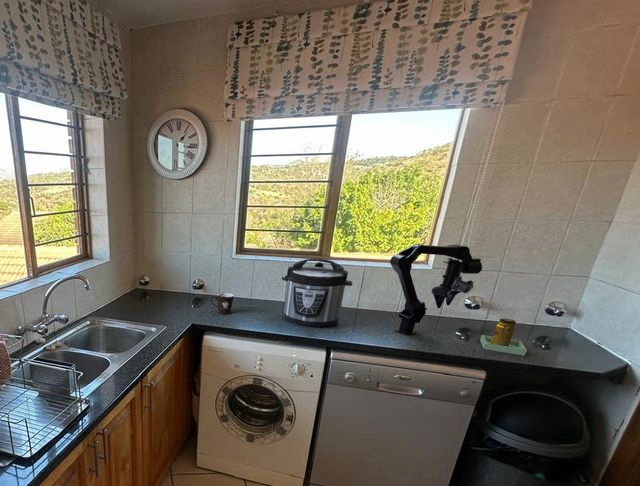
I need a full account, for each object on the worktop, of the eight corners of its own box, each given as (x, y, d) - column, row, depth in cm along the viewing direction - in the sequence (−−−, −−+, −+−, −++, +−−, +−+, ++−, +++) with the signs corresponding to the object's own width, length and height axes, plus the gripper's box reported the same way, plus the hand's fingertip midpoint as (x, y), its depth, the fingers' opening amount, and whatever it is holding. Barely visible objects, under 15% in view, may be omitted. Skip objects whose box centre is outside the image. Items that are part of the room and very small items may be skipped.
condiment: (485, 342, 179) (494, 316, 175) (508, 344, 177) (517, 318, 173) (494, 348, 172) (503, 321, 168) (517, 350, 171) (527, 323, 166)
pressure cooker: (267, 316, 214) (275, 256, 203) (304, 309, 227) (313, 252, 216) (314, 333, 190) (325, 266, 178) (352, 324, 203) (365, 261, 192)
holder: (483, 349, 173) (485, 343, 172) (480, 340, 183) (481, 335, 182) (524, 355, 167) (527, 350, 166) (518, 346, 177) (520, 340, 176)
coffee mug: (234, 311, 221) (236, 294, 218) (228, 315, 215) (230, 297, 211) (215, 308, 227) (216, 291, 224) (208, 312, 220) (210, 294, 217)
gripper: (464, 279, 171) (453, 314, 177) (482, 274, 180) (472, 307, 186) (435, 274, 180) (426, 308, 185) (454, 270, 189) (445, 302, 195)
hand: (443, 306), depth 188 cm, fingers open, 9 cm apart
